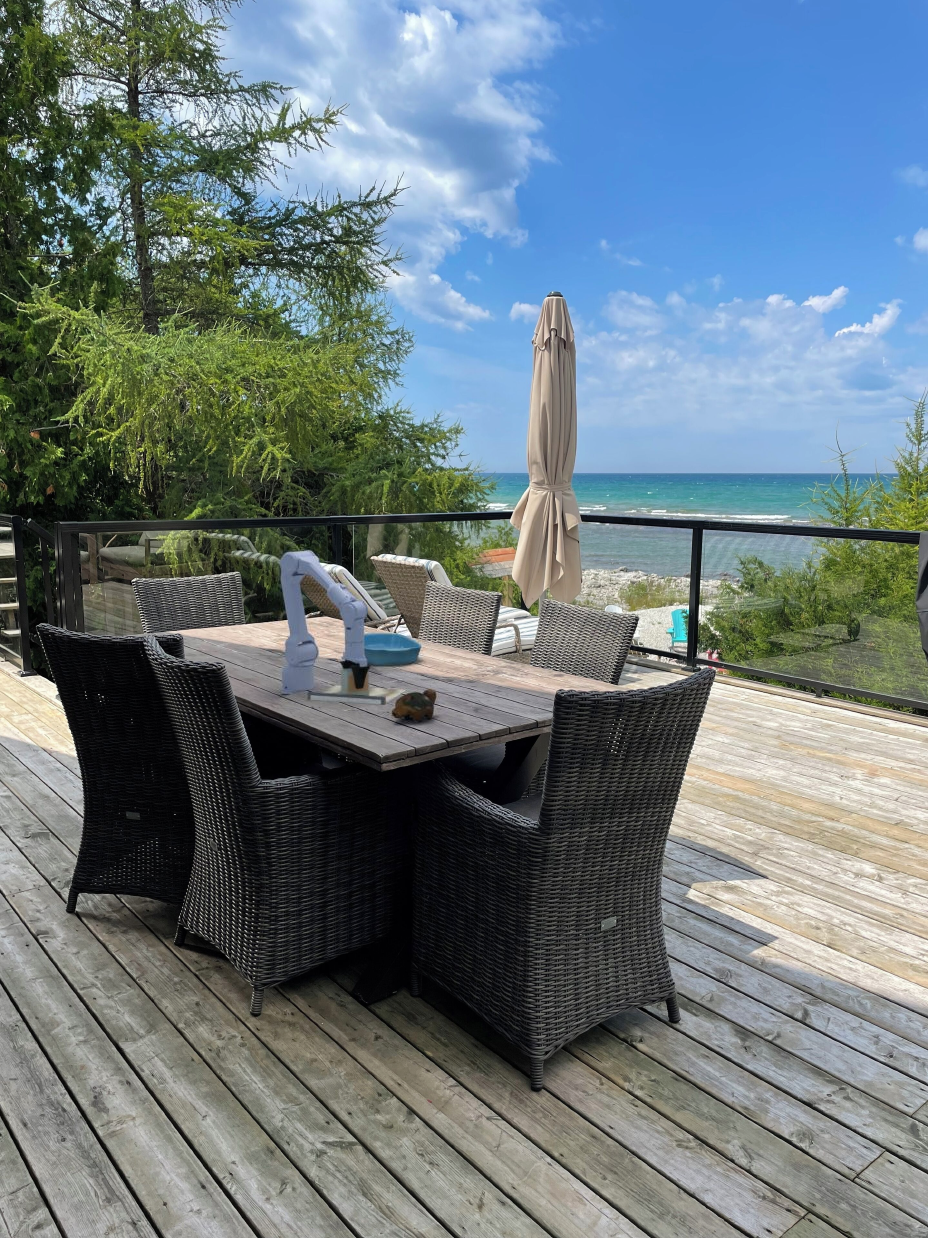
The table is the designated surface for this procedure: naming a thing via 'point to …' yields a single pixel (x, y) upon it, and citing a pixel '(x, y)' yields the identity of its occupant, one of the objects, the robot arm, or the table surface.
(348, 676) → the carton
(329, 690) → the shelf board
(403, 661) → the casserole dish
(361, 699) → the rail
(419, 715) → the decorative turtle
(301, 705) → the table surface
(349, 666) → the robot arm
